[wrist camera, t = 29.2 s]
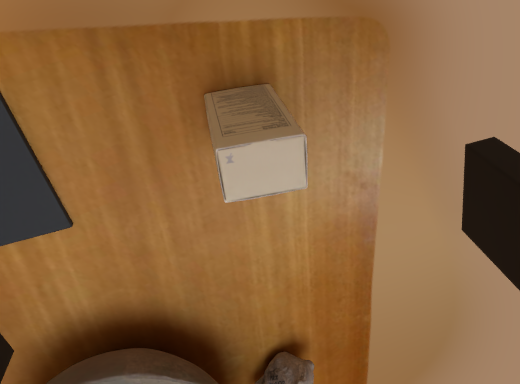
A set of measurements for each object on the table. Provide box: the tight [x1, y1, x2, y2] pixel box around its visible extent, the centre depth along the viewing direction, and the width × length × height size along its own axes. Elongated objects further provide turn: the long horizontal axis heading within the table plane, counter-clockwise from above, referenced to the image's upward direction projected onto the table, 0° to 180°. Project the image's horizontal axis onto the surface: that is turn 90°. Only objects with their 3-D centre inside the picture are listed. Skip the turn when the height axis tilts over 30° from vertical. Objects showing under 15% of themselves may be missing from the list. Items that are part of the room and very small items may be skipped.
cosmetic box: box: [204, 84, 308, 202], centre depth 34 cm, size 6×4×12 cm
